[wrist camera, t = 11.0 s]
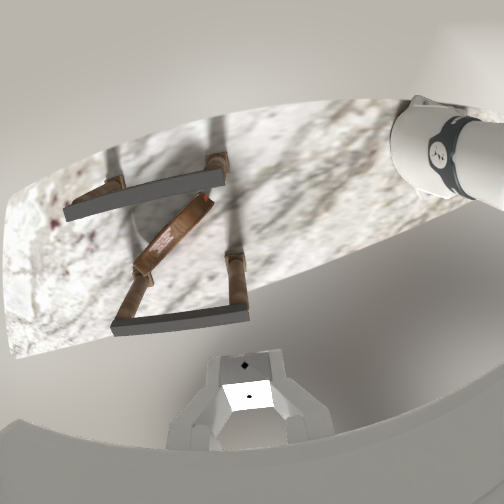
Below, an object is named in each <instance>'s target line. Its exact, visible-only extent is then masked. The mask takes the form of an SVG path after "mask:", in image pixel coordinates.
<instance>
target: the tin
mask: <svg viewBox="0 0 504 504" xmlns="http://www.w3.org/2000/svg"><path fill="white" fill-rule="evenodd" d="M214 203H215V202H213V201H212V200H211V199H210V198H209V197H208V196H207V195H206V194H205V193H203V192H199V193H198V194H197V195H196V196H195V197H194V198H193V199H192V200H191V201H190V202H189V203H188V204H187V205H186V206H185V207H184V208H183V209H182V210H181V211H180V212H179V213H178V214H177V215H176V216H175V217H174V218H173V219H172V220H171V221H170V222H169V223H168V224H167V225H166V226H165V227H164V228H163V229H162V231H161V232H160V233H159V234H158V235H157V236H156V237H155V239H154V240H153V241H152V242H151V243H150V244H149V245H148V246H147V248H146V249H145V250H144V251H143V252H142V254H141V255H140V256H139V257H138V258H137V259H136V261H135V262H134V263H133V265H134V267H135V268H136V269H137V270H138V271H139V272H140V273H142V274H143V276H144V277H145V276H147V275H148V274H149V273H150V272H151V271H152V270H153V269H154V268H155V267H156V266H157V265H158V264H159V263H160V261H161V260H162V259H163V258H164V257H165V256H166V255H167V254H168V253H169V252H170V251H171V250H172V249H173V248H174V247H175V246H176V245H177V244H178V243H179V242H180V241H181V240H182V239H183V238H184V237H185V236H186V235H187V234H188V233H189V232H190V231H191V230H192V229H193V228H194V227H195V226H196V225H197V224H198V223H199V222H200V220H201V219H202V218H203V217H204V216H205V215H206V214H207V213H208V212H209V210H210V209H211V208H212V207H213V205H214Z"/></svg>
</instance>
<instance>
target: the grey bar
mask: <svg viewBox="0 0 504 504" xmlns="http://www.w3.org/2000/svg"><path fill="white" fill-rule="evenodd" d="M224 185H225V180H224V174H223V168H222V167H219V168H214V169H208V170H203V171H198V172H193V173H188V174H183V175H178V176H174V177H169V178H165V179H160V180H156V181H152V182H148V183H144V184H140V185H136V186H132V187H128V188H124V189H121V190H117V191H113V192H110V193H106V194H103V195H99V196H96V197H93V198H89V199H86V200H83V201H80V202H77V203H74V204H71V205H68V206H67V207H65V208H63V211H64V215H65V218H66V221H67V222H70V221H73V220H76V219H80V218H83V217H87V216H90V215H94V214H98V213H101V212H105V211H109V210H113V209H116V208H120V207H124V206H128V205H132V204H137V203H141V202H145V201H149V200H154V199H158V198H163V197H167V196H172V195H177V194H182V193H187V192H192V191H197V190H202V189H207V188H213V187H218V186H224Z"/></svg>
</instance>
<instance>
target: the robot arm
mask: <svg viewBox="0 0 504 504" xmlns="http://www.w3.org/2000/svg"><path fill="white" fill-rule="evenodd" d="M423 102H424V104H423ZM390 147H391V155H392V159H393V162H394V165H395V167H396V169H397V171H398V172H399V174H400V175H401V176H402V178H403V179H404V180H406V181H407V182H408V183H409V184H411V185H412V187H413V189H414V191H415V193H416V194H417V196H418V197H419V198H423V199H425V198H428V197H430V196H433V195H436V196H439V197H442V198H445V199H449V198H450V197H452V196H455V195H459V196H461V197H463V198H468V199H471V200H476V199H477V200H480V201H482V202H484V203H487V204H489V205H491V206H493V207H495V208H497V209H499V210H501V211H504V123H493V122H483V121H481V120H480V119H477V118H473V117H470V116H466V111H465V110H463V109H459V108H455V107H452V106H448V107H447V106H444V105H441V104H439V103H437V102H435V101H432V100H430V99H427V98H425V97H423V96H418V95H415V96H414V97H413V98H412V100H411V102H410V105H409V107H408V108H407V109H406V110H405V111H404V112H403V113H401V114H400V116H399V117H398V118H397V120H396V121H395V123H394V126H393V129H392V133H391V140H390ZM266 406H273V407H274V408H275V409H276V410H277V411H278V413H279V414H280V415H281V416H282V417H283V418H284V419H285V425H286V432H287V442H288V444H286V445H279V446H271V447H263V448H254V449H241V450H224V449H223V448H222V446H221V445H220V443H219V442H218V440H217V438H216V437H217V435H218V434H219V432H220V431H221V429H222V427H223V426H224V425H225V423H226V421H227V420H228V418H229V417H230V415H231V413H232V412H233V411H232V410H240V409H247V408H257V407H266ZM0 504H504V362H503V363H501V364H499V365H497V366H496V367H494V368H493V369H491V370H490V371H488V372H486V373H485V374H483V375H482V376H480V377H478V378H476V379H475V380H473V381H471V382H470V383H468V384H466V385H464V386H462V387H461V388H458V389H457V390H455V391H453V392H451V393H449V394H447V395H445V396H443V397H441V398H438V399H436V400H434V401H432V402H430V403H428V404H425V405H423V406H421V407H418V408H416V409H414V410H411V411H409V412H406V413H404V414H401V415H398V416H396V417H393V418H390V419H387V420H384V421H381V422H378V423H375V424H372V425H369V426H366V427H362V428H359V429H356V430H352V431H348V432H345V433H341V434H337V435H335V432H334V428H333V425H332V421H331V417H330V414H329V410H328V408H327V407H325V406H324V405H323V404H322V403H320V402H319V401H318V400H316V399H315V398H314V397H313V396H311V395H310V394H309V393H308V392H307V391H305V390H304V389H303V388H302V387H300V386H299V385H298V384H297V383H296V382H294V381H293V380H292V379H291V378H286V373H285V367H284V362H283V356H282V351H281V349H275V350H269V352H268V351H262V352H255V353H248V354H242V355H231V356H221V357H210V358H209V359H208V368H207V378H206V388H202V389H201V390H200V391H199V392H198V393H197V394H196V396H195V397H194V398H193V399H192V400H191V401H190V402H189V403H188V405H187V406H186V407H185V408H184V409H183V410H182V411H181V412H180V413H179V414H178V416H177V417H176V418H175V419H174V420H173V421H172V422H171V423H170V426H169V432H168V439H167V445H166V450H162V449H151V448H141V447H132V446H125V445H118V444H112V443H107V442H101V441H96V440H92V439H87V438H82V437H78V436H74V435H70V434H67V433H63V432H60V431H56V430H53V429H50V428H46V427H43V426H40V425H37V424H34V423H32V422H29V421H26V420H23V419H18V420H16V421H14V422H12V423H11V424H9V425H8V426H6V427H5V428H4V429H2V430H1V431H0Z"/></svg>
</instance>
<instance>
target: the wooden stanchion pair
mask: <svg viewBox="0 0 504 504" xmlns="http://www.w3.org/2000/svg"><path fill="white" fill-rule="evenodd" d="M205 157H206V163H207V166H206V167H205V169H204V170H208V169H214V168H219V167H222V168H223V174H224V180H225V178H226V173H230V171H229V165H228V159H227V153H226V152H222V153H217V154H211V155H206V156H205ZM218 187H219V186H218ZM124 188H126V186H125V182H124V177H123V175H121V176H118V177H114V178H111V179H108V180H105V184H104V185H102V186H100V187H98V188H96V189H94V190H92V191H90V192H88V193H86V194H84V195H82V196H80V197H78V198H77V199H75V200H74V201H73V202H72V204H74V203H77V202H80V201H83V200H86V199H89V198H93V197H96V196H99V195H103V194H106V193H110V192H113V191H117V190H121V189H124ZM213 188H216V187H213ZM83 218H84V217H83ZM80 219H81V218H80ZM225 262H226V266H227V271H228V275H229V303H230V305H234V304H240V303H246V302H247V307H248V310H249V302H248V295H247V287H246V280H245V273H244V272H246V265H245V259H244V254H243V253H239V254H233V255H227V256H225ZM132 275H133V278H134V282H133V284H132V286H131V288H130V290H129V291H128V293H127V295H126V297H125V299H124V301H123V303H122V305H121V307H120V309H119V311H118V313H117V315H116V317H115V319H114V320H118V319H128V318H134V316H135V314H136V311H137V309H138V307H139V304H140V302H141V300H142V297H143V295H144V293H145V291H146V288H147V287H152V286H154V282H153V279H152V276H151V273H149V274H148V275H147V276H145V277H144V276H143V274H142V273H140V272H139V271H133V273H132Z"/></svg>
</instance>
